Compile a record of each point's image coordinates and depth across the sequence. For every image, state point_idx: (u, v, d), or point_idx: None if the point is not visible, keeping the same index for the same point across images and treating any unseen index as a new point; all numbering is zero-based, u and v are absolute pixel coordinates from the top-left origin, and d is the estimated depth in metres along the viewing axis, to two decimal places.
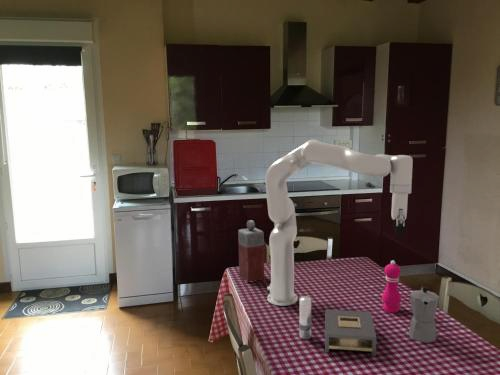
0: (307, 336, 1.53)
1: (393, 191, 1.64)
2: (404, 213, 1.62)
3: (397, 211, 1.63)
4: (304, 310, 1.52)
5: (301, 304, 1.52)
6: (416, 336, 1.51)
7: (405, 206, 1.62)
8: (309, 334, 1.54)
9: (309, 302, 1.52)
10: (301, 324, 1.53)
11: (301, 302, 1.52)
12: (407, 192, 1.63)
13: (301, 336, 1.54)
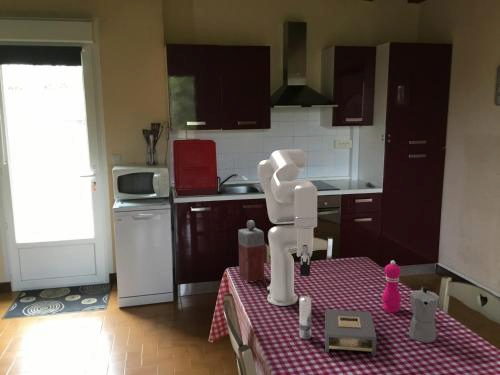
0: (307, 336, 1.53)
1: (297, 225, 1.46)
2: (309, 250, 1.44)
3: (301, 247, 1.45)
4: (304, 310, 1.52)
5: (301, 304, 1.52)
6: (416, 336, 1.51)
7: (309, 242, 1.44)
8: (309, 334, 1.54)
9: (309, 302, 1.52)
10: (301, 324, 1.53)
11: (301, 302, 1.52)
12: (312, 226, 1.45)
13: (301, 336, 1.54)
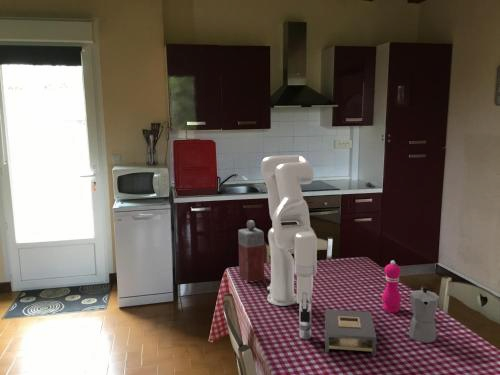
0: (307, 336, 1.53)
1: (297, 272, 1.49)
2: (308, 297, 1.47)
3: (301, 295, 1.48)
4: None
5: None
6: (416, 336, 1.51)
7: (309, 290, 1.47)
8: (309, 334, 1.54)
9: None
10: (301, 324, 1.53)
11: None
12: (311, 274, 1.48)
13: (301, 336, 1.54)
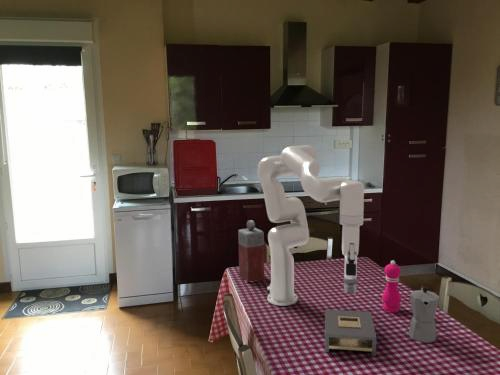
0: (353, 290, 1.47)
1: (343, 223, 1.43)
2: (356, 248, 1.41)
3: (348, 246, 1.41)
4: None
5: None
6: (416, 336, 1.51)
7: (356, 240, 1.41)
8: (355, 289, 1.47)
9: None
10: (346, 278, 1.47)
11: None
12: (358, 224, 1.42)
13: (346, 291, 1.48)
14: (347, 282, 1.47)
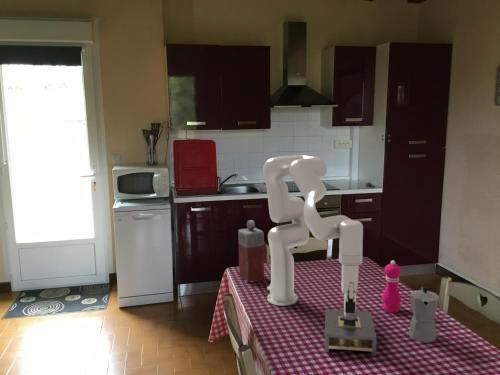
0: None
1: (342, 262, 1.45)
2: (355, 287, 1.43)
3: (347, 285, 1.44)
4: None
5: None
6: (416, 336, 1.51)
7: (356, 279, 1.43)
8: (354, 325, 1.50)
9: None
10: (346, 315, 1.49)
11: None
12: (358, 263, 1.44)
13: None
14: (346, 319, 1.49)
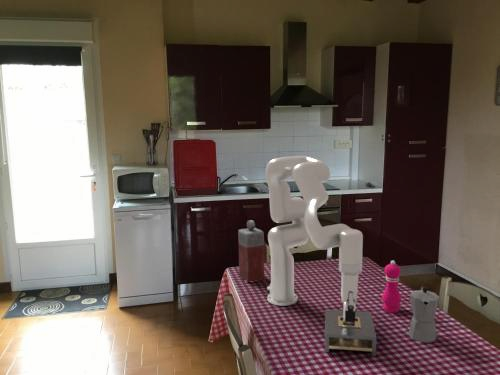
0: None
1: (342, 271, 1.46)
2: (354, 296, 1.44)
3: (347, 294, 1.44)
4: None
5: (345, 307, 1.49)
6: (416, 336, 1.51)
7: (355, 288, 1.44)
8: None
9: None
10: None
11: (345, 305, 1.49)
12: (357, 272, 1.45)
13: None
14: None
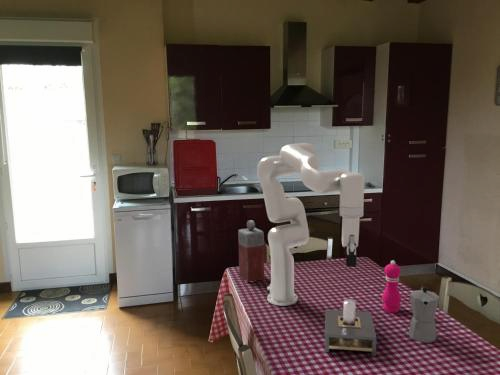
0: None
1: (343, 214, 1.43)
2: (355, 240, 1.41)
3: (347, 237, 1.41)
4: (349, 313, 1.49)
5: (345, 307, 1.49)
6: (416, 336, 1.51)
7: (356, 232, 1.41)
8: None
9: (354, 305, 1.49)
10: None
11: (345, 305, 1.49)
12: (358, 215, 1.41)
13: None
14: None
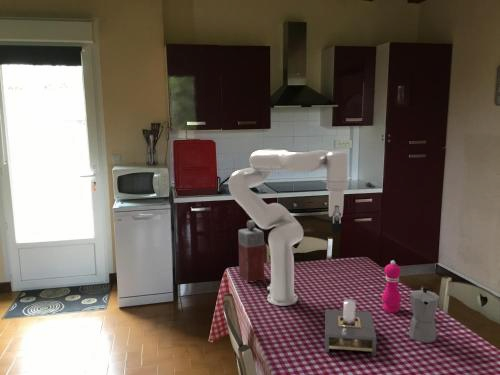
0: None
1: (329, 188, 1.61)
2: (340, 210, 1.60)
3: (333, 208, 1.60)
4: (349, 313, 1.49)
5: (345, 307, 1.49)
6: (416, 336, 1.51)
7: (341, 203, 1.60)
8: None
9: (354, 305, 1.49)
10: None
11: (345, 305, 1.49)
12: (343, 189, 1.60)
13: None
14: None
